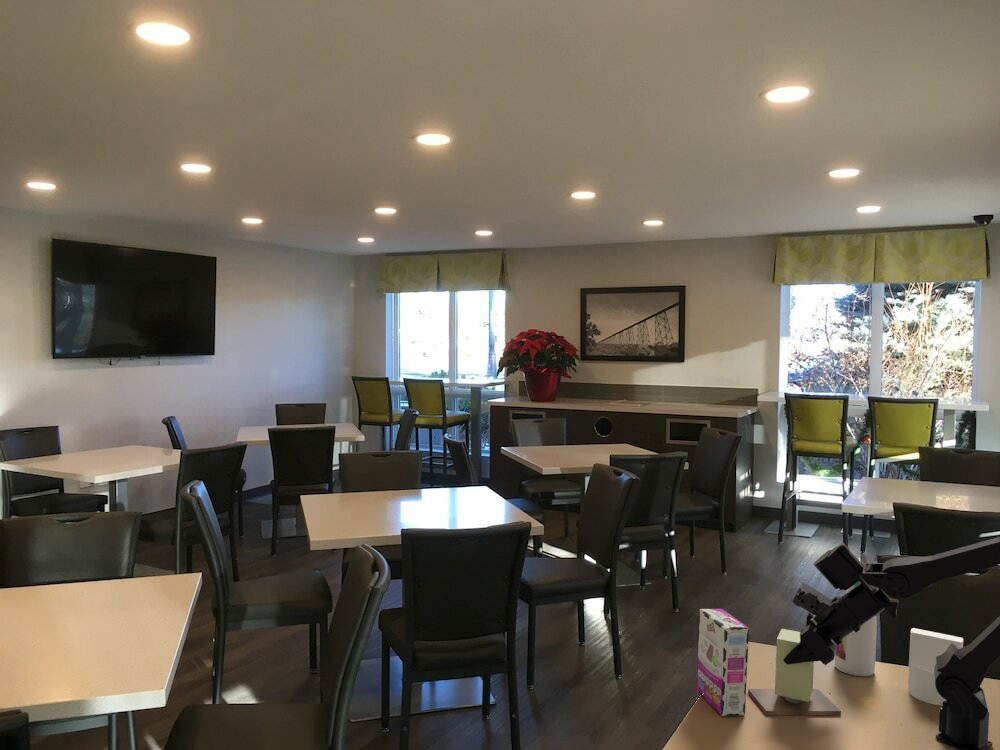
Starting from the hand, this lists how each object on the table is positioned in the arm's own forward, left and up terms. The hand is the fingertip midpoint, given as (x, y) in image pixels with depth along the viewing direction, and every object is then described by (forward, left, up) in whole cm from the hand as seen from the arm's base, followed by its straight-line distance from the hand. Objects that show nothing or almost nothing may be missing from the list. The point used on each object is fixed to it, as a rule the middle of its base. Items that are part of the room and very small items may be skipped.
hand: (787, 656), depth 147 cm
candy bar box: (+6, +11, -9) cm, 16 cm away
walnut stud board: (-1, -1, -9) cm, 9 cm away
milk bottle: (+3, -26, -9) cm, 27 cm away
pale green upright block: (-1, -1, -7) cm, 7 cm away
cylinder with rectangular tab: (-12, -29, -9) cm, 32 cm away
